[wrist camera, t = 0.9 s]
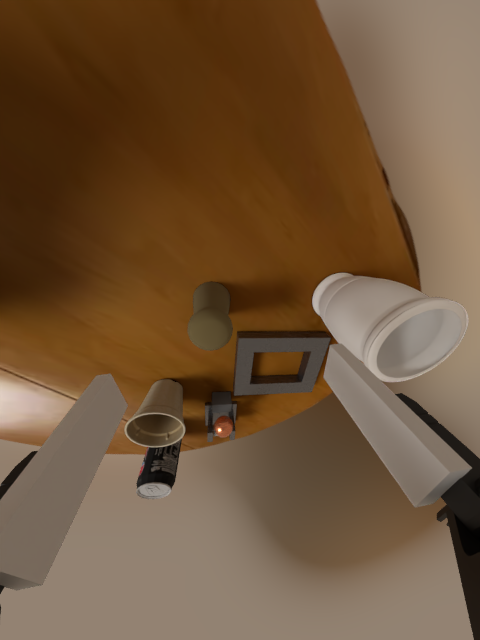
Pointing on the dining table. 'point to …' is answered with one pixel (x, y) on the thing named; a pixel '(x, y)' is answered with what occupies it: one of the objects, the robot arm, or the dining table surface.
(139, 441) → the flower pot
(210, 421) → the grey metal bracket
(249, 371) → the grey rectangular frame
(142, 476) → the beverage can
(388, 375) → the jar
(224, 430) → the lever handle
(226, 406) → the rest stop
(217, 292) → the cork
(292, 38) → the dining table surface
